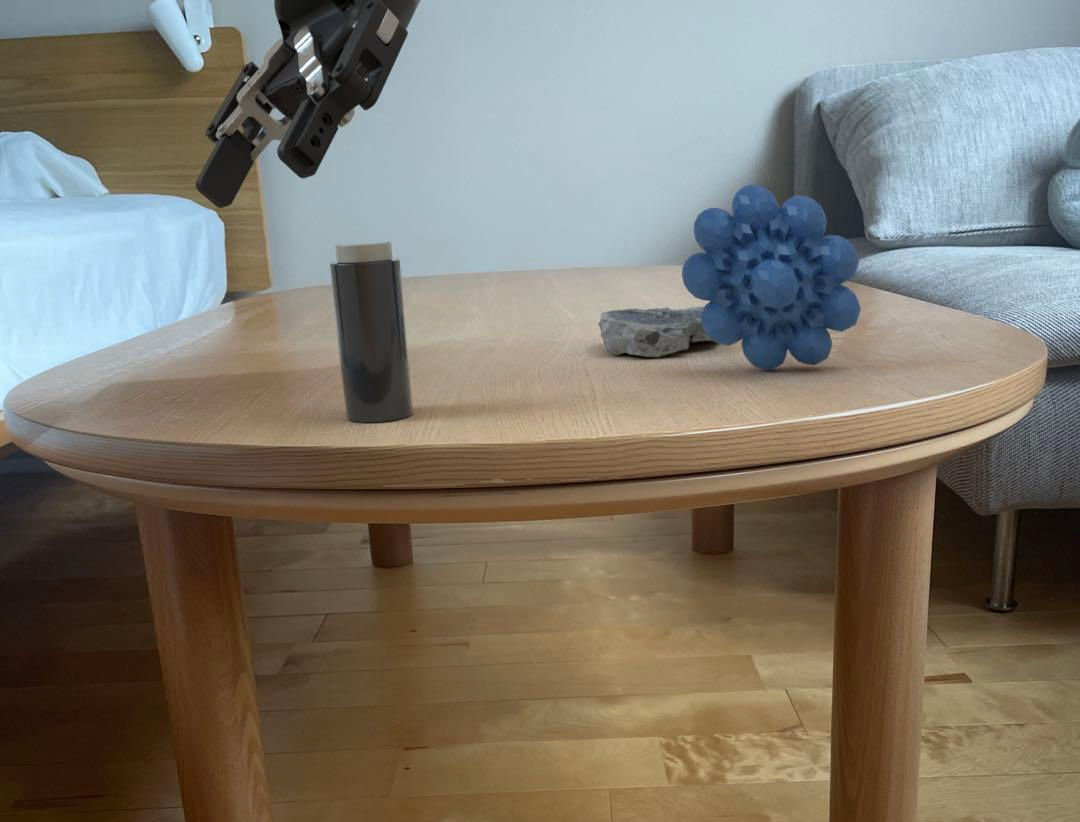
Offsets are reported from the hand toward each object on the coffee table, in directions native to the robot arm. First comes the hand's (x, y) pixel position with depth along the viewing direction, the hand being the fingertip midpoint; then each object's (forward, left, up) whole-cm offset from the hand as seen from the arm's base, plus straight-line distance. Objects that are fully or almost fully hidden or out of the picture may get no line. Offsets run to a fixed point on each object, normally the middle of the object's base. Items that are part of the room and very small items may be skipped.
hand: (250, 183), depth 59 cm
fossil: (+28, +17, -14) cm, 35 cm away
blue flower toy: (+32, +3, -14) cm, 35 cm away
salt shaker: (+6, -1, -14) cm, 15 cm away
